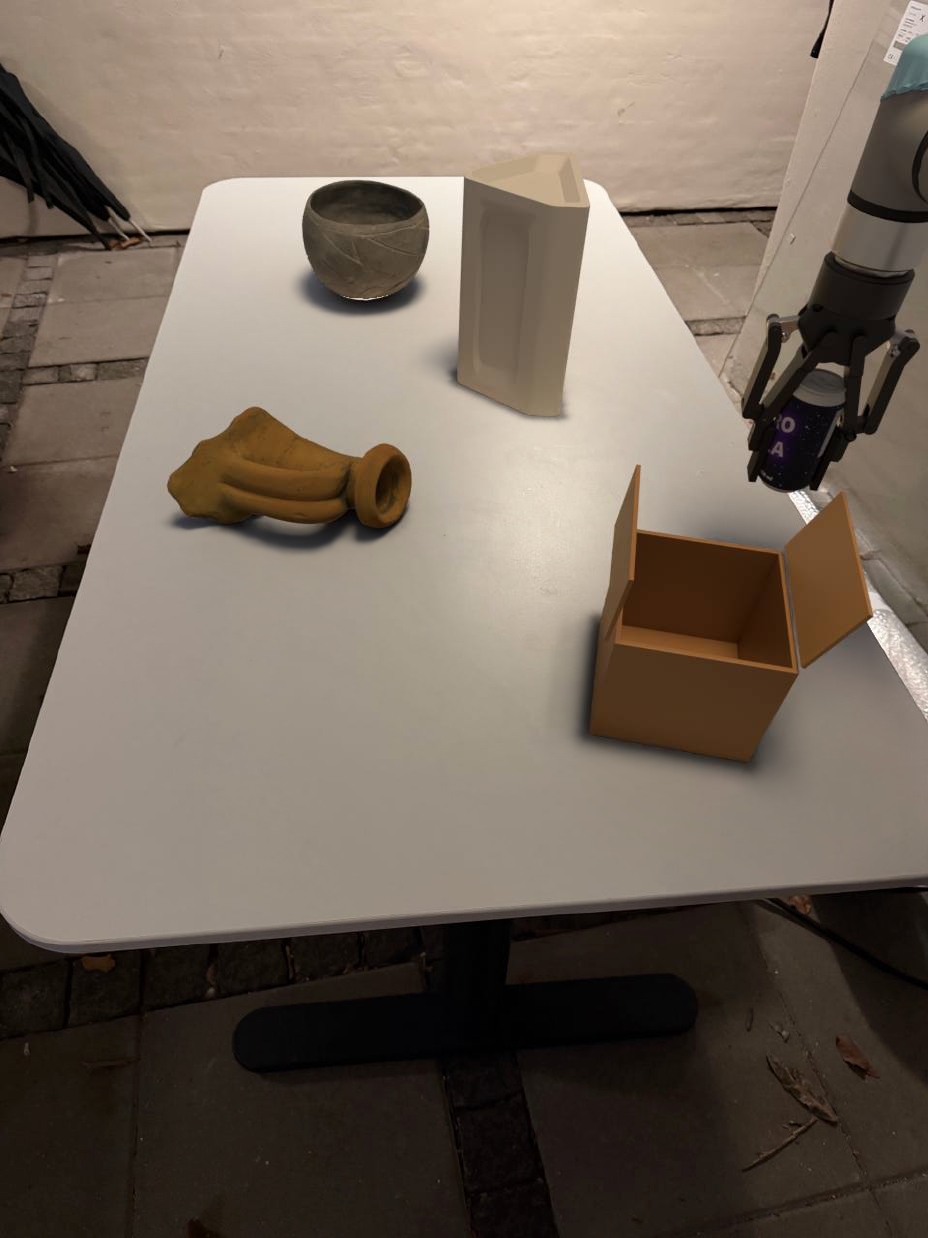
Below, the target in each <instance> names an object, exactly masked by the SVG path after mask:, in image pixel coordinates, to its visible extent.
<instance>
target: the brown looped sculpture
mask: <svg viewBox="0 0 928 1238" xmlns="http://www.w3.org/2000/svg"><path fill="white" fill-rule="evenodd" d="M412 483H413V479H412V469H411V464H410V461H409V460H408V458H407V456H406V454H404V453H403V452H402V451H401V450H400V449H399V448H398V447H396V446H395V445H393V444H390V443H386V442H383V443H379V444H377V445H375V446H373V447H371V448H370V449H368V450H367V451H366V452H365V453H364V455H363V457H361V456H354V455H348V454H345V453H341V452H338V451H335V450H333V449H330V448H329V447H326V446H324V445H321V444H319V443H317V442H315V441H312V440H311V439H310V440H309V439H307V438H304V437H303V436H301V435H299V434H298V433H296V432H295V431H294V430H292V429H291V428H290V427H289V426H287V425H285V424H284V423H283V422H282V421H280V420H279V419H277V418H276V417H274V416H273V415H272V414H270V412H268V411H267V410H266V409H264V408H263V407H259V406H250V407H248V408H247V409H244V410H243V411H242V412H241V413H240V414H237V415H236V416H235V417H234V418H233V419H232V421H231V422H230V423H229V425H228V427H226V428H225V430H222V432H220V433H219V434H217V435H215V436H213V437H211V438H210V437H209V438H207V439H202V440H200V441H199V442H198V443H197V444H196V446H195V447H194V449H193V450H192V452H191V455H190V456H189V457H188V458H187V460H185V462H183V463H182V464H181V465H180V466H179V467H178V468H177V469H175V470H174V471H172V473H171V474H169V477H168V480H167V484H166V488H167V492H168V493H169V494H170V496H171V497H172V498H173V499H174V500H175V502H176V503H177V504H178V507H179V508H180V510H181V511H182V513H183V515H185V516H186V517H187V518H192V519H198V520H211V521H213V522H214V523H219V524H229V525H230V524H236V523H239V522H242V521H244V520H245V519H247V518H249V517H250V516H252V515H257V516H262V517H266V518H269V519H272V520H273V519H274V520H277V521H281V522H287V523H293V524H298V525H318V524H319V525H320V524H321V525H322V524H326V523H327V524H328V523H332V522H333V521H335V520H337V519H339V518H340V517H342V516H343V515H344V514H345V513H346V512H347V511H348V510H349V509H355V512H356V515H357V518H358V519H359V521H360V522H361V523H362V524H363V525H364V526H368V527H370V528H374V529H382V528H386V527H390V526H391V525H393V524H394V523H396V522H397V521H398V520H399V519H400V517H401V516H402V515H403V513H404V511H405V509H406V507H407V505H408V502H409V500H410V496H411V493H412V485H413V484H412Z"/></svg>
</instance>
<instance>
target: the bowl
mask: <svg viewBox="0 0 928 1238" xmlns="http://www.w3.org/2000/svg"><path fill="white" fill-rule="evenodd" d="M426 207H427V206H426V204H425V203H424V202H423V200H422V199H421V198H420V197H418V196H417V195H416V194H414V193H413V192H411V191H409V190H407V189H406V188H402V187H399V186H397V185H396V186H395V185H392V184H389V183H386V182H381V181H375V180H369V179H368V180H365V179H346V180H339V181H334V182H331V183H328V184H325V185H323V186H321V187H318V188H317V189H315V190H313V191H312V193H311V194H309V196H308V198H307V200H306V202H305V206H304V209H303V214H302V219H301V234H302V241H303V249H304V251H305V255H306V256H307V260H308V262H309V264H310V266H311V269H312V271H313V272H314V274H315V275H316V277H317V278H318V279H319V280H320V282H322V284H323V285H325V286H326V288H328V289H329V290H331V291H332V292H333V291H334V293H335V294H337V295H338V294H339V295H338V296H340V295H342V296H345V297H349V298H363V299H369V298H377V297H382V296H386V295H390V294H392V295H394V294H396V293H397V292H399V291H400V290H402V289H403V288H404V287H406V286H408V284H409V283H410V282H412V281H413V279H414V277H415V276H416V275H417V273H418V272H419V270H420V268H421V266H422V264H423V262H424V260H425V256H426V254H427V251H428V245H429V241H430V232H431V231H430V219H429V213H428V210H427V208H426ZM395 292H396V293H395ZM393 293H394V294H393ZM342 296H341V297H342ZM390 296H391V295H390Z"/></svg>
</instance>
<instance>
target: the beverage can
mask: <svg viewBox="0 0 928 1238" xmlns="http://www.w3.org/2000/svg"><path fill="white" fill-rule="evenodd" d="M846 390H847V389H845V385H844V378H843V376H841V375H840V374H838V373H836V372H834V371H831V370H829V369H826V368H825V369H824V368H819V367H816V368H815V369H814V370H813V371H812V372H811V373H809V374H808V375H807V376H806V377H805V379H804V380H803V381H802V383H801V384H800V385H799V387H798V388H797V389H796V391H795V392H794V393H793V394H792V395H791V397H790V398H789V400H788V401H787V402H786V404H785V405H784V406H783V408H782V409H781V410H780V412H779V413H778V414H777V415H776V417H775V418H774V424H775V430H776V431H775V433H774V436H773V438H772V441H771V444H770V446H769V449H768V451H767V454H766V457H765V459H764V462H763V464H762V467H761V470H760V472H759V475H758V478H759V479H760V480H761V483H762V484H763V485H764V486H765V487H767V488H768V489H769V490H772V491H774V492H776V493H782V494H791V493H795V492H797V491H801V490H803V489H804V490H805V489H806V488H807V487H809V484H810V482H811V480H812V477H813V475H814V473H815V471H816V468H817V466H818V464H819V462H820V459H821V457H822V455H823V453H824V450H825V448H826V446H827V444H828V441H829V439H830V437H831V435H832V433H833V430H834V428H835V426H836V424H837V425H838V422H839V418H840V415H841V412H842V410H843V408H844V406H845V403H846Z"/></svg>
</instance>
